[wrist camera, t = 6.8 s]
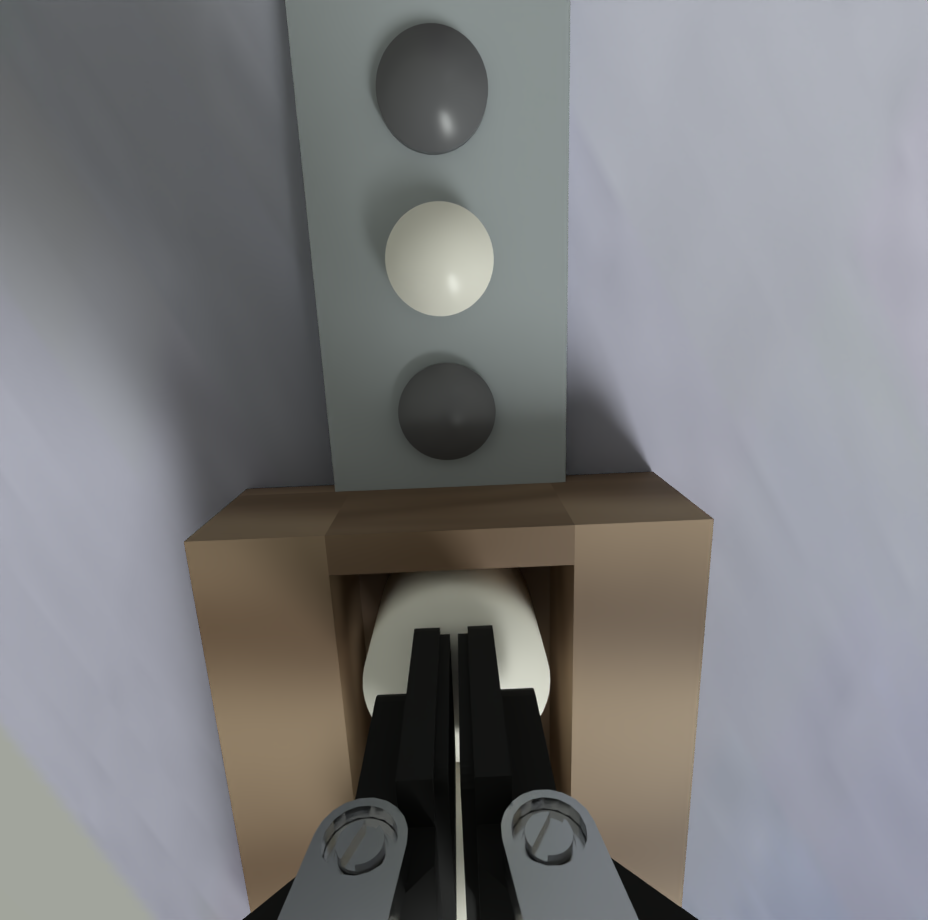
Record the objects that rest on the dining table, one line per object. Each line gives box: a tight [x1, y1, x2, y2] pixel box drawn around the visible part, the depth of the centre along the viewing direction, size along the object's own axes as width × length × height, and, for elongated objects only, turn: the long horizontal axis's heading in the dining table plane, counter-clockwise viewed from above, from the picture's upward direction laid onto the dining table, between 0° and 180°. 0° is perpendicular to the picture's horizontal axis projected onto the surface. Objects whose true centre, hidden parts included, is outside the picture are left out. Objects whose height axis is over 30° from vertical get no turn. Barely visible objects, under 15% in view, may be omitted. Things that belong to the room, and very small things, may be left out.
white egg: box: [363, 567, 550, 762], centre depth 13 cm, size 4×4×3 cm
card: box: [285, 0, 570, 492], centre depth 13 cm, size 12×6×1 cm, turn 2°
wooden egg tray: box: [184, 472, 714, 912], centre depth 15 cm, size 17×11×4 cm, turn 2°
